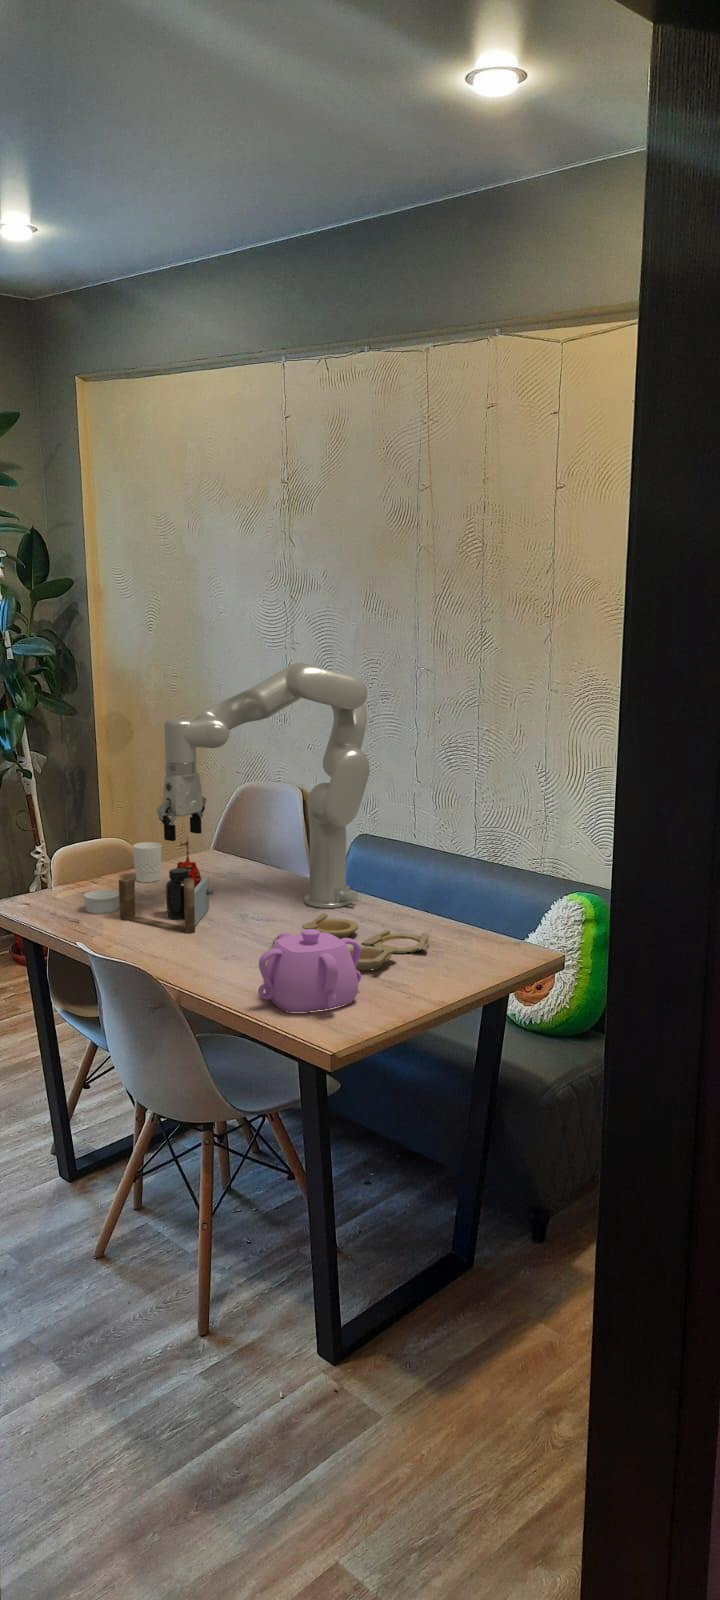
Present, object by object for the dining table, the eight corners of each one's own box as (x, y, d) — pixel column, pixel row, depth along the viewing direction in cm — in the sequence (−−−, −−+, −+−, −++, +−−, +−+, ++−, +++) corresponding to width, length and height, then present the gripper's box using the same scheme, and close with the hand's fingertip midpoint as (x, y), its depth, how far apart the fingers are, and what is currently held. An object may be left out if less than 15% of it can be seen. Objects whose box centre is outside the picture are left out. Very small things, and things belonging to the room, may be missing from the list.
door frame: (198, 931, 268) (197, 878, 266) (189, 934, 266) (188, 881, 264) (128, 916, 280) (126, 865, 278) (120, 919, 278) (118, 868, 275)
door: (200, 927, 269) (199, 895, 268) (189, 927, 269) (188, 895, 268) (214, 908, 286) (214, 877, 284) (204, 907, 286) (203, 877, 284)
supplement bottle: (185, 911, 285) (184, 865, 283) (199, 917, 280) (198, 870, 278) (161, 916, 281) (160, 869, 278) (175, 922, 276) (174, 875, 273)
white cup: (138, 875, 320) (137, 841, 318) (165, 876, 319) (164, 842, 317) (130, 882, 312) (129, 848, 310) (157, 883, 311) (156, 848, 309)
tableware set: (443, 943, 262) (444, 927, 261) (395, 982, 236) (395, 964, 235) (310, 924, 276) (310, 908, 275) (250, 959, 250) (250, 941, 249)
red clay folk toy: (171, 897, 298) (170, 842, 295) (176, 890, 305) (175, 836, 302) (199, 897, 298) (198, 842, 295) (204, 890, 305) (203, 836, 302)
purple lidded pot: (333, 1023, 212) (334, 950, 210) (237, 1006, 220) (236, 936, 218) (371, 991, 230) (372, 923, 227) (281, 976, 238) (280, 911, 235)
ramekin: (88, 905, 290) (87, 889, 289) (122, 905, 290) (122, 889, 289) (81, 915, 281) (80, 898, 280) (116, 915, 281) (115, 898, 281)
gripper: (169, 774, 265) (171, 845, 268) (215, 765, 279) (217, 832, 283) (145, 772, 269) (147, 841, 272) (192, 762, 283) (194, 828, 287)
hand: (183, 836), depth 277 cm, fingers open, 9 cm apart
